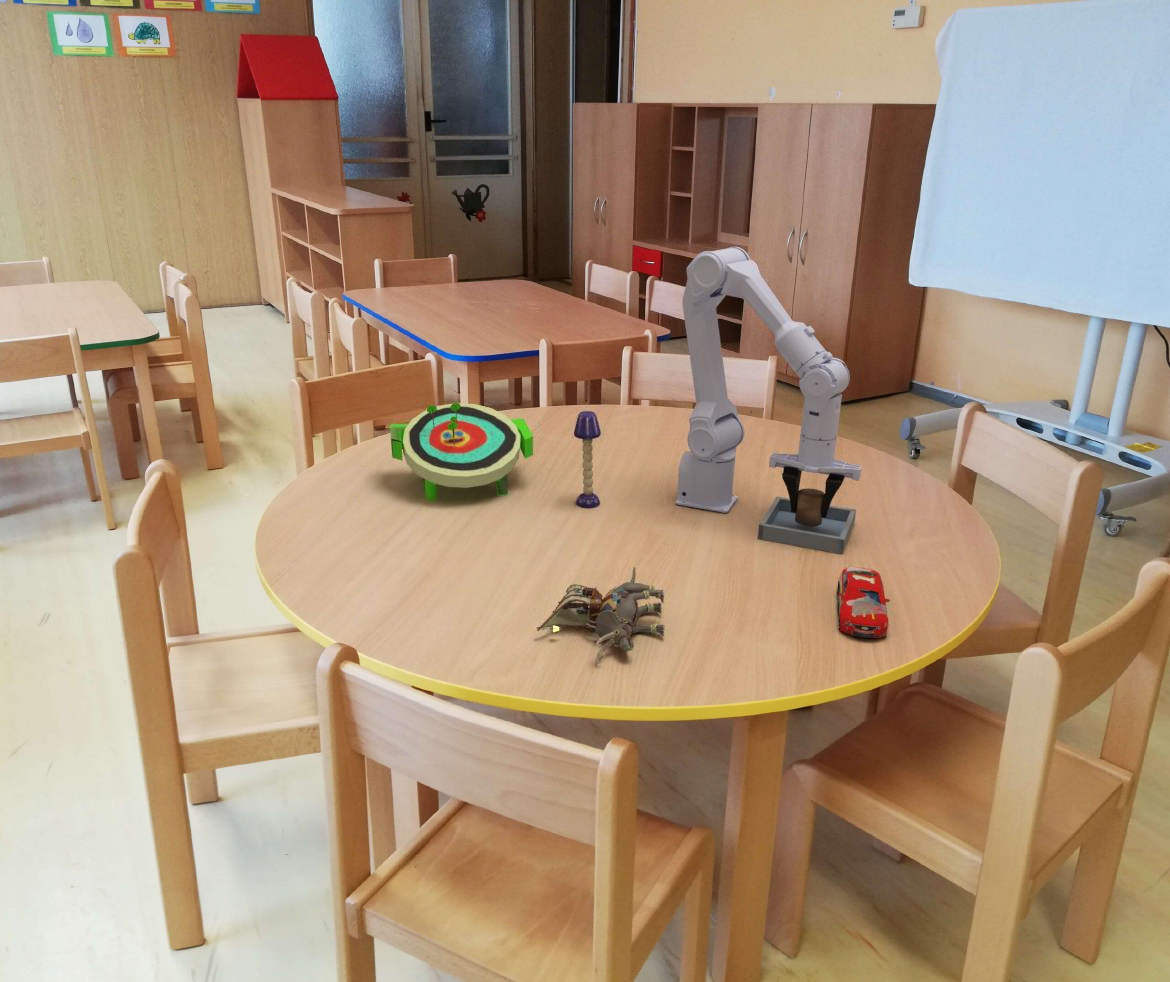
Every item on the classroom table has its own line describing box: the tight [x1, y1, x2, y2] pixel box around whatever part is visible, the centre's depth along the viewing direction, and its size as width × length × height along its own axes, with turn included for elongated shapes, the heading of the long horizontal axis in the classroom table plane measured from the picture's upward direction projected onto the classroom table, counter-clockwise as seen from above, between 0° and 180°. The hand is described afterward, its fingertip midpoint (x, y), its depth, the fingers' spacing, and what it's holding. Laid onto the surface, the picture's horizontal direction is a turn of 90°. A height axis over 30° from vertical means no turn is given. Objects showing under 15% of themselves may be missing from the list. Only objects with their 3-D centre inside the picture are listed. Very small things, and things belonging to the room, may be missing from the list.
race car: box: [836, 566, 891, 639], centre depth 130 cm, size 16×7×5 cm, turn 166°
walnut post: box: [795, 487, 825, 527], centre depth 155 cm, size 4×4×5 cm
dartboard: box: [389, 401, 534, 501], centre depth 168 cm, size 25×19×16 cm
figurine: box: [536, 567, 665, 666], centre depth 124 cm, size 20×6×17 cm
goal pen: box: [757, 496, 857, 555], centre depth 156 cm, size 14×14×2 cm
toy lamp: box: [573, 410, 602, 509], centre depth 163 cm, size 5×5×17 cm
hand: (809, 513), depth 155 cm, fingers closed on walnut post, 4 cm apart
